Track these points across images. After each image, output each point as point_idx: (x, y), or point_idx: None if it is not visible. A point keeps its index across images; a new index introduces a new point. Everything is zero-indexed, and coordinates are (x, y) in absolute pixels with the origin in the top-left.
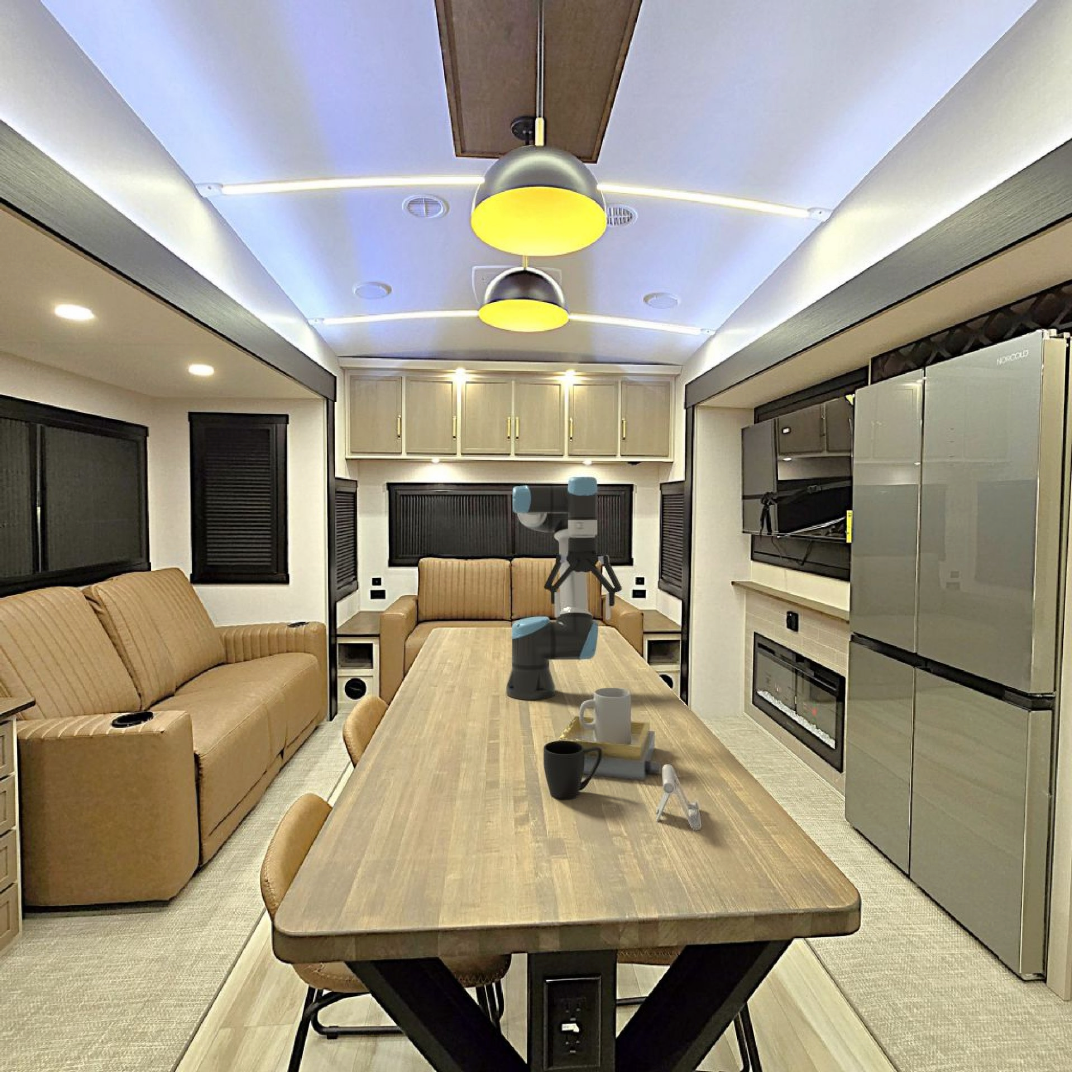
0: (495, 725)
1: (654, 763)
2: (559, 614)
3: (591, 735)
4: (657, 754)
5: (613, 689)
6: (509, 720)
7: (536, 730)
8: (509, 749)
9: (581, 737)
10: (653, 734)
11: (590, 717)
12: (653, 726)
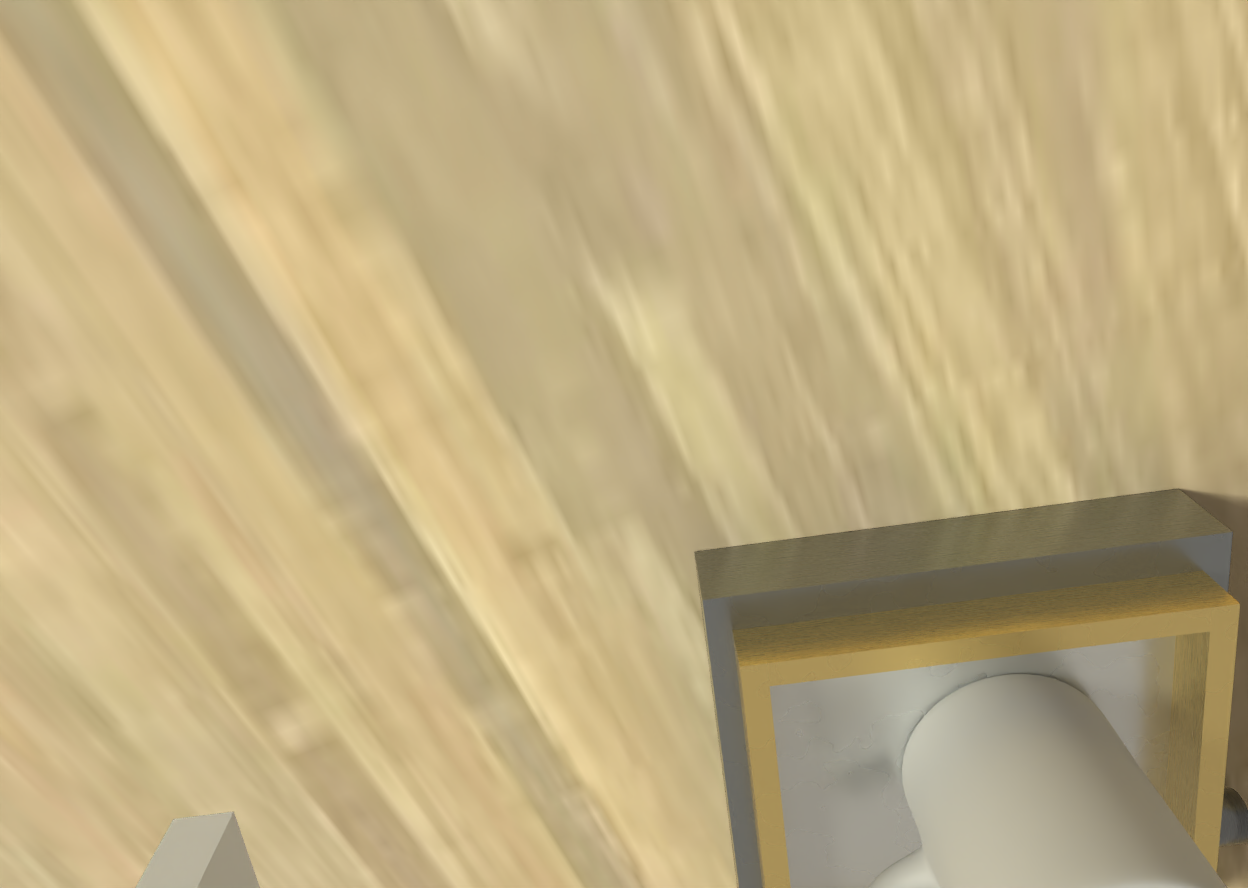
0: (139, 507)
1: (1227, 845)
2: (235, 867)
3: (875, 743)
4: None
5: (1114, 885)
6: (156, 385)
7: (421, 488)
8: (437, 787)
9: (830, 789)
10: (1227, 585)
11: (841, 654)
12: (1145, 91)
